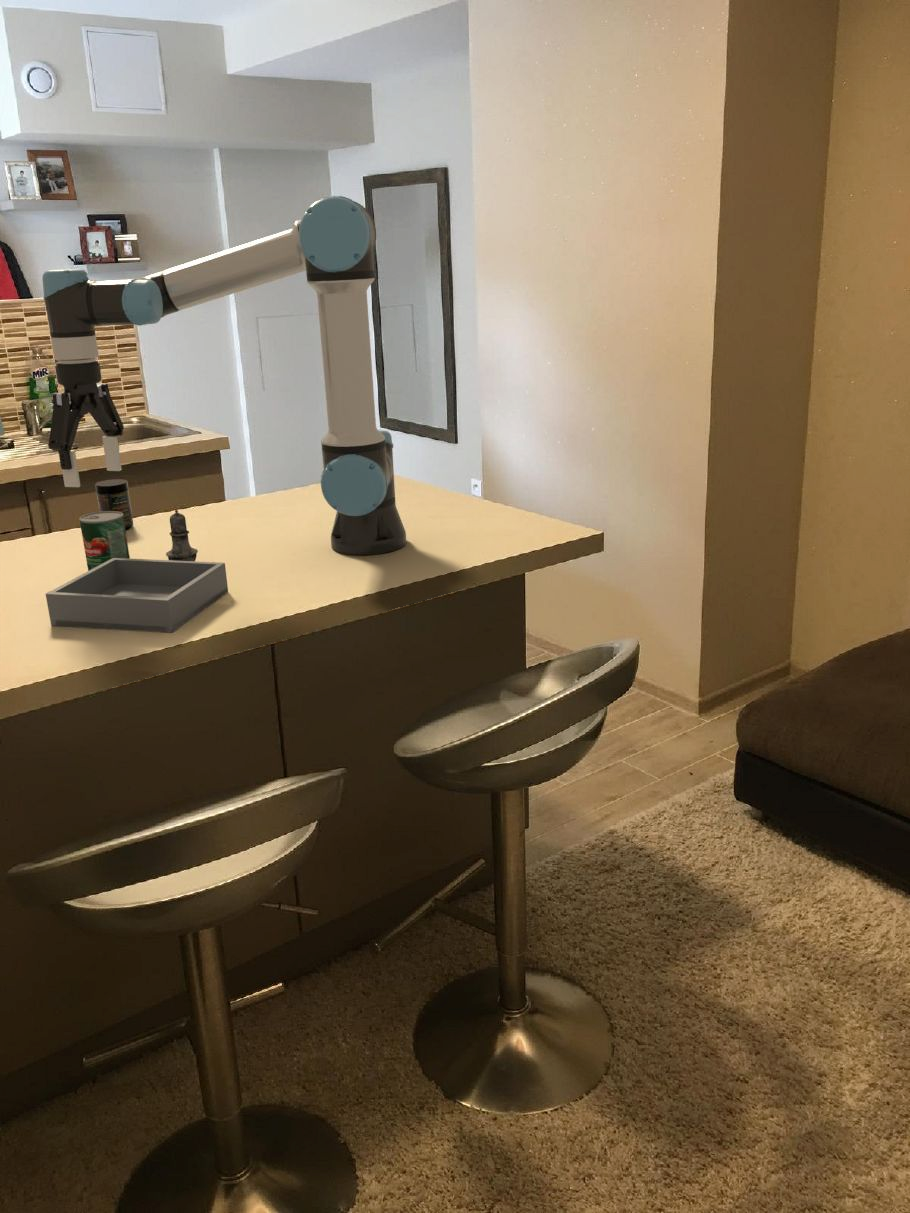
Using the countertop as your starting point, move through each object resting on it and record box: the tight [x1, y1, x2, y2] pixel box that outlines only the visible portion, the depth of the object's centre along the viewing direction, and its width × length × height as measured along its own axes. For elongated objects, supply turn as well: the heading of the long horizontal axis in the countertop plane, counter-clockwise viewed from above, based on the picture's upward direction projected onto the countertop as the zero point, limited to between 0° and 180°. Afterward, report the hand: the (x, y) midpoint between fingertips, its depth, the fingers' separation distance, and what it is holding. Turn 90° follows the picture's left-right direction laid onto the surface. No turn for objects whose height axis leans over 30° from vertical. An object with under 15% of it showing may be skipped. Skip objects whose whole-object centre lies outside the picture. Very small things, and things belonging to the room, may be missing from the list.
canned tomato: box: [78, 511, 131, 572], centre depth 191 cm, size 8×8×11 cm
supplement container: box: [94, 478, 134, 532], centre depth 222 cm, size 7×7×10 cm
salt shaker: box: [165, 508, 199, 561], centre depth 190 cm, size 6×6×12 cm
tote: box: [45, 558, 229, 634], centre depth 172 cm, size 22×20×6 cm
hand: (94, 478), depth 187 cm, fingers open, 13 cm apart
